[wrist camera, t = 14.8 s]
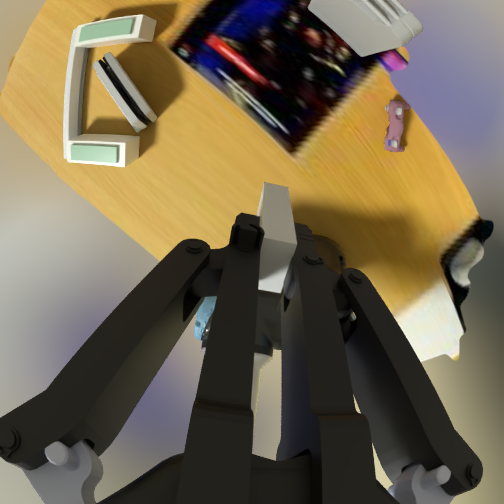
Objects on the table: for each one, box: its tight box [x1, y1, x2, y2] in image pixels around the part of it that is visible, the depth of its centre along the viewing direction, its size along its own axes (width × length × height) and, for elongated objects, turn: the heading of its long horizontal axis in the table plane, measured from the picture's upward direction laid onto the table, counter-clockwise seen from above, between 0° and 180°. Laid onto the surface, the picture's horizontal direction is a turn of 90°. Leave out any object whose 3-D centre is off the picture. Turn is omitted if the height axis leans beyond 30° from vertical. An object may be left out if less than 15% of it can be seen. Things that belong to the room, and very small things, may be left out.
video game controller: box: [384, 100, 410, 152], centre depth 38 cm, size 10×5×7 cm, turn 179°
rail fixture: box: [63, 14, 157, 167], centre depth 36 cm, size 28×17×7 cm, turn 169°
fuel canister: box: [308, 0, 423, 57], centre depth 20 cm, size 15×5×25 cm, turn 48°
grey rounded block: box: [93, 52, 157, 133], centre depth 36 cm, size 17×5×10 cm, turn 31°
